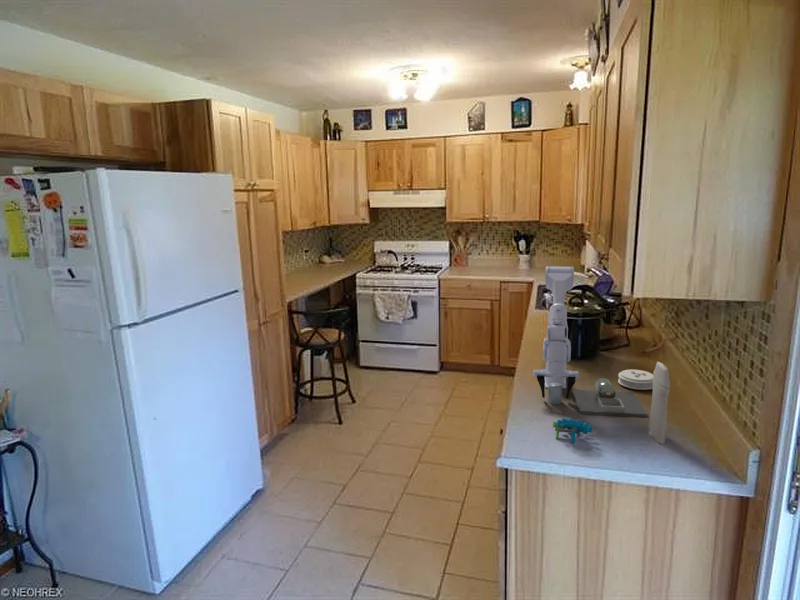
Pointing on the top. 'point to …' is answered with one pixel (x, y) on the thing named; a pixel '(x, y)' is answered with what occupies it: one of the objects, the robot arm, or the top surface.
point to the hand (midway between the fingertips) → (554, 397)
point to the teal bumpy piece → (572, 427)
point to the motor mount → (608, 401)
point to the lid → (636, 379)
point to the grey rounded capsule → (555, 393)
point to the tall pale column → (659, 403)
